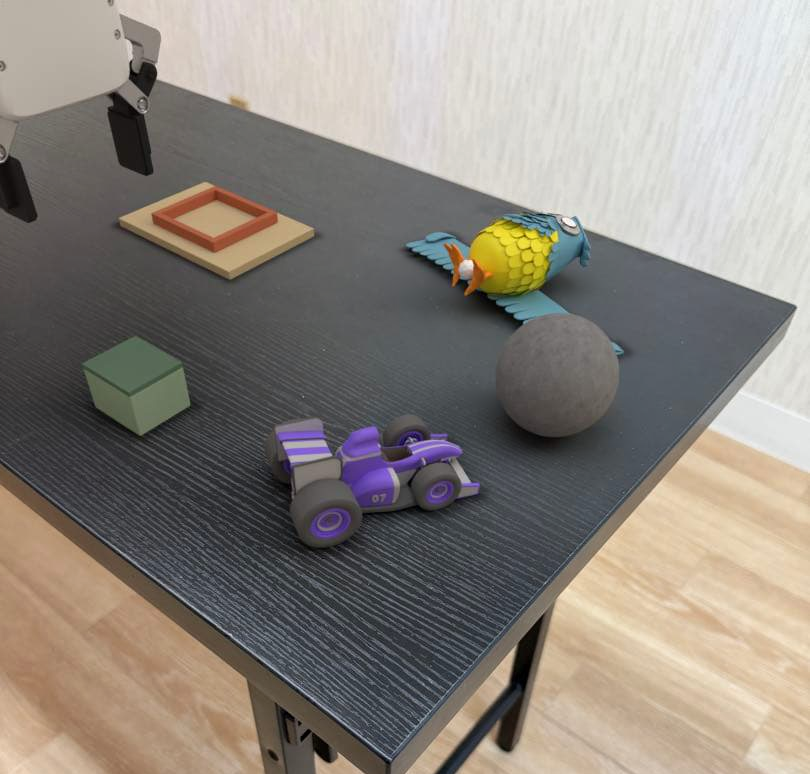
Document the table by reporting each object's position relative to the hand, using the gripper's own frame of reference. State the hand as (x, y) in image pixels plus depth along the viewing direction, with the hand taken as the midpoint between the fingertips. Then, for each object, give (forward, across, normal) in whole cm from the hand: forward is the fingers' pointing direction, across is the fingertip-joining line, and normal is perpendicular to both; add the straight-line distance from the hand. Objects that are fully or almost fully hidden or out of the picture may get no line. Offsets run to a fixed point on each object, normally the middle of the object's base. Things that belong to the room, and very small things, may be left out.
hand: (81, 192), depth 56 cm
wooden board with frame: (+18, -26, -18) cm, 37 cm away
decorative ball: (+19, -21, +28) cm, 40 cm away
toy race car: (+19, -5, +22) cm, 30 cm away
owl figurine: (+19, -37, +15) cm, 44 cm away
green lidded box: (+18, 0, 0) cm, 19 cm away
